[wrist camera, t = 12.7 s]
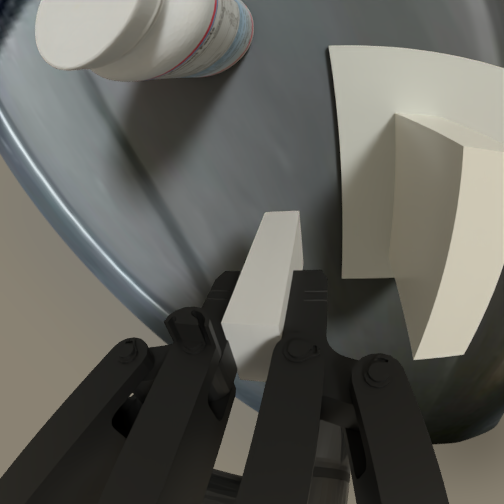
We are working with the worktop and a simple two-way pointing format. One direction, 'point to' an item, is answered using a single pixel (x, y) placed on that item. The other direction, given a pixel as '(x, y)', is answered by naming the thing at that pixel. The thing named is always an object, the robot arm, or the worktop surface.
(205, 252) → the worktop surface
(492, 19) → the worktop surface
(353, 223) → the mat
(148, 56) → the pill bottle
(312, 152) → the worktop surface
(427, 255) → the cream rectangular block
